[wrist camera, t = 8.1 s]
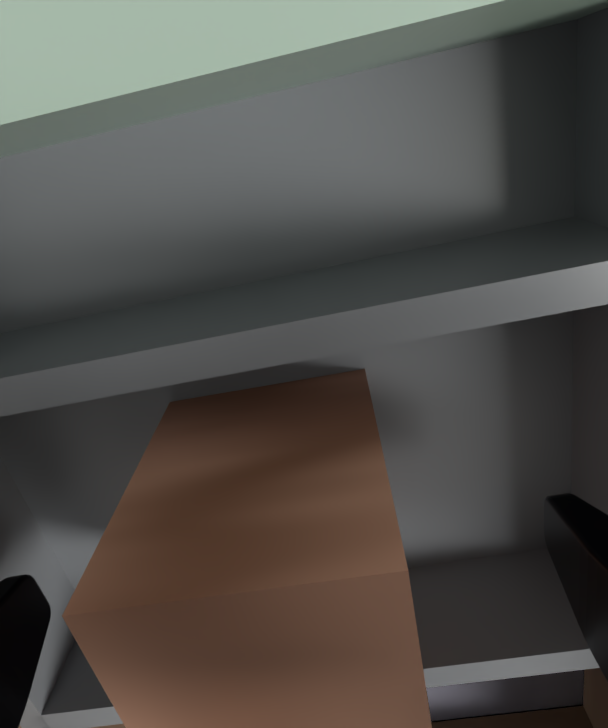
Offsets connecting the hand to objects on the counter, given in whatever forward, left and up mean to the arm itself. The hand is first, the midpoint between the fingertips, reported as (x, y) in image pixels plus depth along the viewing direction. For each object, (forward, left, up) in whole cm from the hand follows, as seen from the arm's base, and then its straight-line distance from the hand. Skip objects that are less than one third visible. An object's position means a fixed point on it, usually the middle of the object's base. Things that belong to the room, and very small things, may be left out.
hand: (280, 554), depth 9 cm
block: (0, 0, -2) cm, 2 cm away
